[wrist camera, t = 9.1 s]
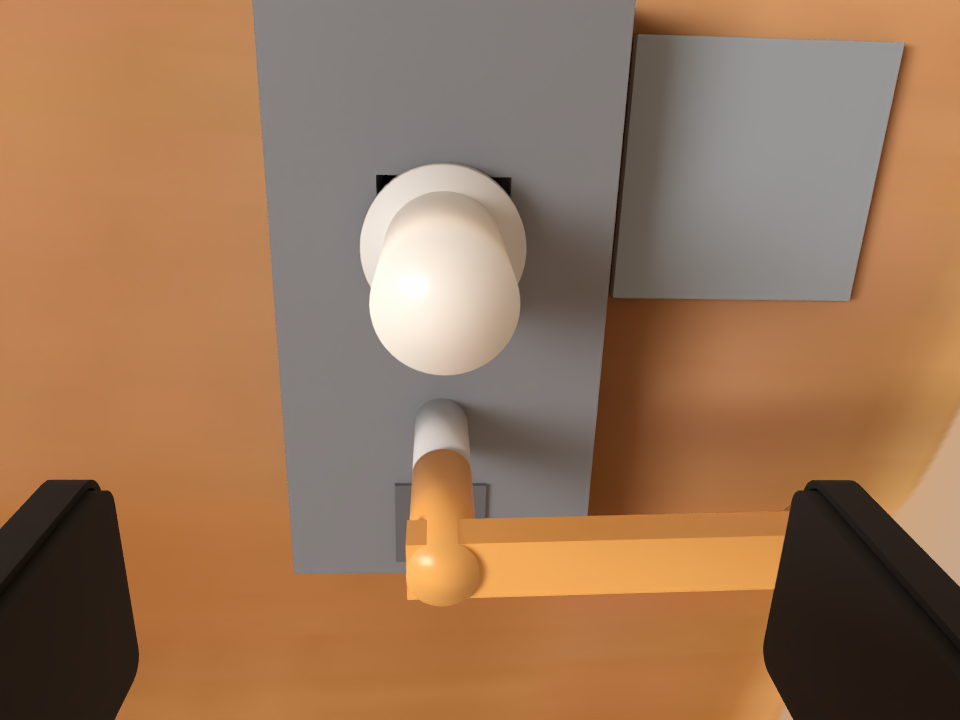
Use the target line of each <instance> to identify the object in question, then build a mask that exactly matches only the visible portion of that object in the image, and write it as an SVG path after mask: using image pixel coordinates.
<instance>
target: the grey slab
mask: <svg viewBox="0 0 960 720" xmlns="http://www.w3.org/2000/svg"><path fill="white" fill-rule="evenodd" d="M252 2H253V16H254V30H255V43H256V57H257V71H258V84H259V98H260V112H261V125H262V139H263V153H264V166H265V180H266V194H267V208H268V221H269V235H270V249H271V262H272V276H273V290H274V303H275V317H276V331H277V344H278V358H279V372H280V385H281V399H282V413H283V426H284V440H285V454H286V467H287V481H288V495H289V508H290V522H291V536H292V550H293V563H294V574H336V573H406V547H405V545H406V529H407V520H410V504H411V487H412V472H413V468H414V465H415V463H416V462H417V460H418V459H419V458H420V457H421V456H423V455H424V454H426V453H427V452H430V451H432V450H437V449H448V450H452V451H455V452H457V453H459V454H460V455H462V456H463V457H464V458H465V459H466V460H467V461H468V463H469V465H470V467H471V472H472V484H473V497H474V509H475V519H484V518H524V517H565V516H587V515H588V504H589V493H590V483H591V472H592V461H593V450H594V440H595V429H596V418H597V408H598V397H599V386H600V376H601V365H602V354H603V344H604V333H605V322H606V312H607V301H608V290H609V280H610V269H611V258H612V248H613V237H614V226H615V216H616V205H617V194H618V184H619V173H620V162H621V152H622V141H623V130H624V119H625V109H626V98H627V87H628V77H629V66H630V55H631V45H632V34H633V23H634V13H635V2H636V0H252ZM432 162H453V163H459V164H463V165H467V166H470V167H472V168H475V169H477V170H479V171H481V172H483V173H485V174H486V175H488V176H489V177H502V188H503V189H504V190H505V192H506V193H507V194H508V195H509V197H510V198H511V200H512V202H513V203H514V205H515V207H516V209H517V211H518V213H519V216H520V218H521V220H522V223H523V227H524V230H525V236H526V260H525V266H524V269H523V273H522V276H521V278H520V281H519V283H518V287H519V293H520V314H519V319H518V323H517V326H516V329H515V331H514V334H513V335H512V337H511V339H510V341H509V342H508V344H507V345H506V346H505V348H504V349H503V350H502V351H501V352H500V353H499V354H498V355H497V356H496V357H495V358H493V359H492V360H491V361H490V362H488V363H486V364H485V365H483V366H481V367H479V368H477V369H475V370H472V371H469V372H466V373H462V374H457V375H433V374H428V373H424V372H421V371H417V370H415V369H413V368H411V367H408V366H407V365H405V364H403V363H402V362H400V361H399V360H398V359H396V358H395V357H394V356H393V355H392V354H391V353H390V352H389V351H388V350H387V349H386V348H385V347H384V345H383V344H382V343H381V341H380V339H379V338H378V336H377V334H376V332H375V329H374V327H373V324H372V320H371V316H370V308H369V300H370V291H371V287H370V285H369V283H368V281H367V279H366V277H365V274H364V271H363V267H362V263H361V257H360V237H361V231H362V227H363V224H364V221H365V218H366V215H367V213H368V211H369V208H370V206H371V204H372V202H373V201H374V199H375V198H376V196H377V195H378V193H379V192H380V191H381V190H382V189H383V187H384V175H399V174H401V173H402V172H404V171H406V170H408V169H410V168H412V167H415V166H418V165H422V164H426V163H432Z"/></svg>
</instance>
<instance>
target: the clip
mask: <svg viewBox="0 0 960 720" xmlns="http://www.w3.org/2000/svg"><path fill="white" fill-rule="evenodd" d="M790 507H791V505H790V506H788V507H787V508H786V509H785V510H784V511H768V512H728V513H687V514H646V515H606V516H565V517H524V518H484V519H475V509H474V497H473V484H472V472H471V467H470V465H469V463H468V461H467V460H466V459H465V458H464V457H463V456H462V455H460V454H459V453H457V452H455V451H452V450H448V449H437V450H432V451H430V452H427V453H426V454H424V455H423V456H421V457H420V458H419V459H418V460H417V462H416V463H415V465H414V468H413V472H412V487H411V504H410V520H407V529H406V545H405V547H406V580H407V600H416V599H419V600H421V601H422V602H424V603H427V604H429V605H434V606H451V605H455V604H458V603H460V602H462V601H464V600H466V599H467V598H484V597H518V596H552V595H585V594H619V593H653V592H687V591H721V590H755V589H774V588H775V583H776V578H777V573H778V568H779V563H780V558H781V553H782V548H783V543H784V538H785V533H786V528H787V523H788V517H789V512H790Z"/></svg>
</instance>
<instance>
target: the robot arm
mask: <svg viewBox="0 0 960 720" xmlns="http://www.w3.org/2000/svg"><path fill="white" fill-rule="evenodd" d="M763 655H764V661H765V665H766V668H767V671H768V673H769V675H770V677H771V679H772V681H773V682H774V684H775V686H776V688H777V690H778V692H779V694H780V695H781V697H782V699H783V701H784V703H785V705H786V707H787V709H788V710H789V712H790V714H791V716H792V718H793V720H960V587H959V586H958V585H957V584H956V583H955V582H954V581H953V580H952V579H951V578H950V577H949V576H948V575H947V574H946V572H944V571H943V570H942V568H941V567H940V566H939V565H938V564H937V563H936V562H935V561H934V560H933V559H932V558H931V557H930V556H929V555H928V554H927V553H926V552H925V551H924V550H923V549H922V548H921V547H920V546H919V545H918V544H917V543H916V542H915V541H914V540H913V539H912V538H911V537H910V536H909V535H908V534H907V533H906V532H905V531H904V530H903V529H902V528H901V527H900V526H899V525H898V524H897V523H896V522H895V521H894V520H893V519H892V518H891V516H890V515H889V514H888V513H887V512H886V511H885V510H884V509H883V508H882V507H881V506H880V505H879V504H878V503H877V502H876V501H875V500H874V499H873V498H872V497H871V496H870V495H869V494H868V493H867V492H866V491H865V490H864V489H863V488H862V487H861V486H860V485H859V484H858V483H856V482H855V481H850V480H812V481H810V482H809V483H808V484H807V485H806V487H805V489H804V491H797V492H796V493H795V494H794V496H793V499H792V502H791V507H790V512H789V517H788V523H787V528H786V533H785V538H784V543H783V548H782V553H781V558H780V563H779V568H778V573H777V578H776V583H775V588H774V593H773V598H772V603H771V608H770V613H769V618H768V623H767V629H766V634H765V639H764V645H763ZM138 662H139V650H138V643H137V637H136V631H135V625H134V619H133V613H132V606H131V600H130V594H129V588H128V582H127V576H126V570H125V563H124V557H123V551H122V545H121V539H120V533H119V527H118V520H117V514H116V508H115V502H114V498H113V495H112V494H111V492H109V491H101V489H100V487H99V485H98V483H97V482H96V481H94V480H47V481H46V482H44V483H43V484H42V485H41V486H40V487H39V488H38V489H37V490H36V491H35V492H34V494H33V495H32V496H31V497H30V498H29V499H28V500H27V501H26V502H25V503H24V504H23V505H22V506H21V507H20V509H19V510H18V511H17V512H16V513H15V514H14V515H13V516H12V517H11V518H10V519H9V520H8V521H7V522H6V523H5V525H4V526H3V527H2V528H1V529H0V720H115V718H116V716H117V713H118V711H119V709H120V707H121V705H122V703H123V701H124V699H125V697H126V695H127V693H128V691H129V689H130V687H131V685H132V683H133V681H134V678H135V676H136V672H137V668H138Z"/></svg>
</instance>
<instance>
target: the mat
mask: <svg viewBox="0 0 960 720" xmlns="http://www.w3.org/2000/svg"><path fill="white" fill-rule="evenodd" d="M904 44H905V43H903V42H872V41H841V40H809V39H778V38H747V37H716V36H685V35H654V34H634V43H633V53H632V64H631V75H630V85H629V96H628V106H627V117H626V128H625V138H624V149H623V159H622V170H621V180H620V191H619V202H618V212H617V223H616V233H615V244H614V255H613V265H612V276H611V286H610V295H611V296H612V298H652V299H733V300H814V301H849V300H850V296H851V291H852V286H853V282H854V277H855V272H856V268H857V263H858V259H859V254H860V249H861V245H862V240H863V235H864V231H865V226H866V221H867V217H868V212H869V207H870V203H871V198H872V193H873V189H874V184H875V179H876V175H877V170H878V165H879V161H880V156H881V151H882V147H883V142H884V137H885V133H886V128H887V123H888V119H889V114H890V109H891V105H892V100H893V96H894V91H895V86H896V82H897V77H898V72H899V68H900V63H901V58H902V54H903V49H904Z"/></svg>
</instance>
